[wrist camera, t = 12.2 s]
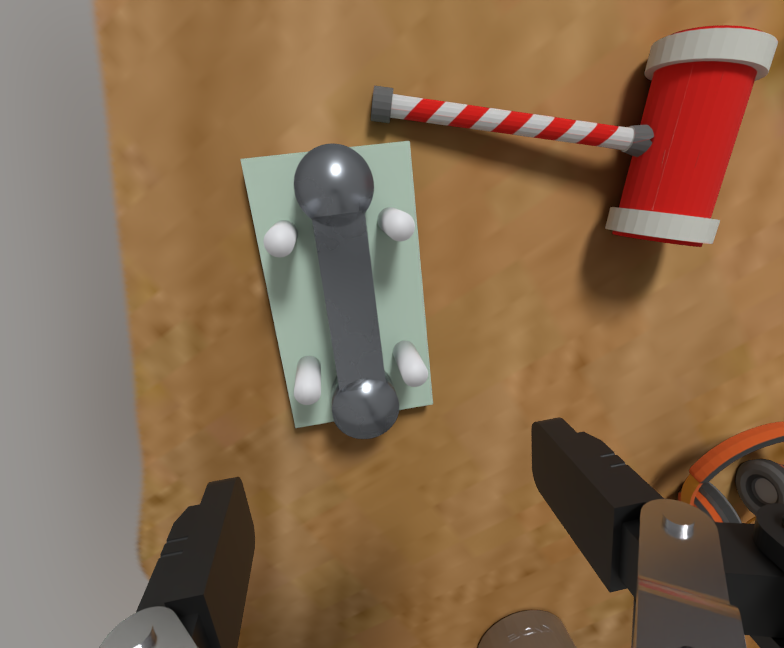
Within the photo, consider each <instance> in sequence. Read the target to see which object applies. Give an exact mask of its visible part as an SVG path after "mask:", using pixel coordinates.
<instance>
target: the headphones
mask: <svg viewBox="0 0 784 648" xmlns="http://www.w3.org/2000/svg"><path fill="white" fill-rule="evenodd" d="M780 442H784V422H775V423H769V424H765V425H761V426H758V427H755V428H752V429H749V430H746V431H744V432H741V433H739V434H737V435H735V436H733V437H731V438H729V439H727V440H725V441H723V442H722V443H720V444H718V445H717V446H715V447H714V448H712V449H711V450H710V451H708V452H707V453H706V454H704V455H703V456H702V457H701V458H700V459H699V460H698V461H696V462H695V463H694V464H693V465H692V466H691V468H690V469H689V473H690V474H689V476H688V477H687V479H686V480H685V482H684V484H683V487H682V490H681V491H679V493H678V501H681V502H685V503H687V504H690V505H692V506H694V507H696V508H698V509H700V510H702V511H703V512H704V513H706V514H707V515H708V516H709V517H710V518H711V519H712V520H713V521H714V522H726V523H741V520H740V518H739V516H738V515H737V513H736V511H735V510H734V508H733V507H732V505H731V504H730V503H729V501H728V500H727V499H726V498H725V496H724V495H723V494H722V493H721V492H720V491H719V490H718V489H717V488H716V487H715V486H714V485H713V484H711V483H710V482H709V481H710V480H711V479H712V478H713V477H714V476H716V475H717V474H718V473H719V472H720V471H721V470H723V469H724V468H725V467H727V466H728V465H730V464H731V463H733V462H734V461H736V460H738V459H739V458H741V457H743V456H745V455H747V454H749V453H751V452H754V451H756V450H758V449H761V448H764V447H766V446H770V445H773V444H776V443H780ZM735 481H736V488H737V491H738V494H739V496H740V498H741V500H742V501H743V503H744V504H745V506H746V507H747V508H748V509H749V510H750V511H751V512H752V513H753V514H754V515H755V517H754V518H752V519H750V520H749V521H748V522H747V523H746V524H750V523H751V522H753V521H754V520H755V519H756V514H757V511H758V509H759V508H761V507H762V506H764V505H768V504H775V503H780V504H784V465H781V464H778V463H775V462H773V461H771V460H766V459H756V460H748V461H746V462H744V463H743V464H742V465H741V466H740V467H739V468H738V471H737V473H736V480H735Z"/></svg>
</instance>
